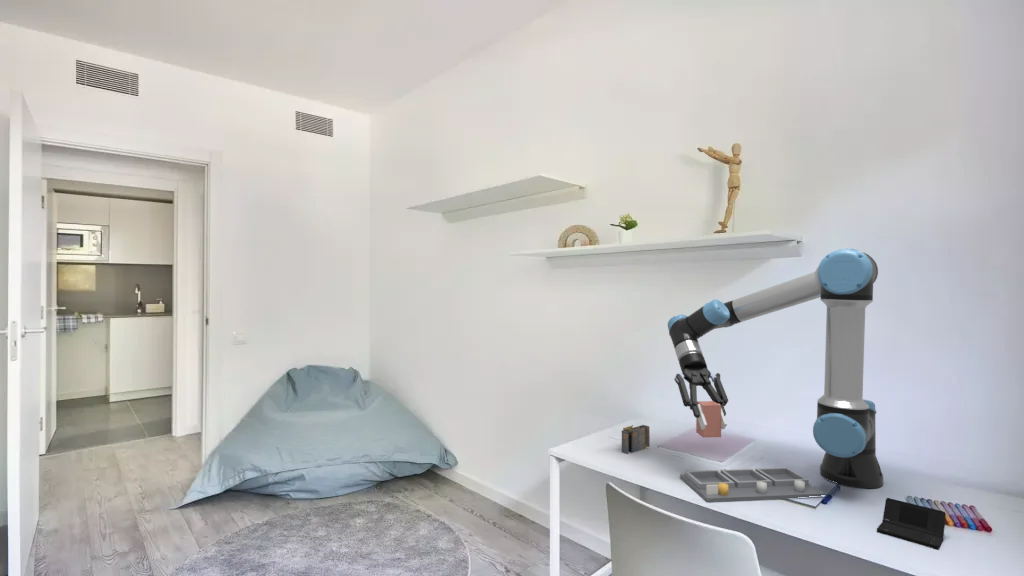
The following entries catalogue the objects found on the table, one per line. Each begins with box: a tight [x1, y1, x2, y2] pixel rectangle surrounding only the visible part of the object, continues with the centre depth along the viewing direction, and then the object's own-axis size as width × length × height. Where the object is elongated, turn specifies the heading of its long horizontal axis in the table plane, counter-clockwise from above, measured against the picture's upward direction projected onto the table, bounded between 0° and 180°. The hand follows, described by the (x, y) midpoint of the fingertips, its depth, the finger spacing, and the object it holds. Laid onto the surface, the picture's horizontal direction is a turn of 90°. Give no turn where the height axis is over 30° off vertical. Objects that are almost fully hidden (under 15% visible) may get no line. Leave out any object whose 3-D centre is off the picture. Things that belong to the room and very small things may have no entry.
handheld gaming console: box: [876, 497, 946, 550], centre depth 115 cm, size 12×7×10 cm
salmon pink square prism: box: [695, 400, 722, 439], centre depth 148 cm, size 5×5×9 cm
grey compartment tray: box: [679, 467, 827, 503], centre depth 142 cm, size 32×17×3 cm, turn 95°
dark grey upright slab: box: [621, 424, 651, 455], centre depth 175 cm, size 11×3×10 cm, turn 128°
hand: (714, 426), depth 144 cm, fingers closed on salmon pink square prism, 5 cm apart
